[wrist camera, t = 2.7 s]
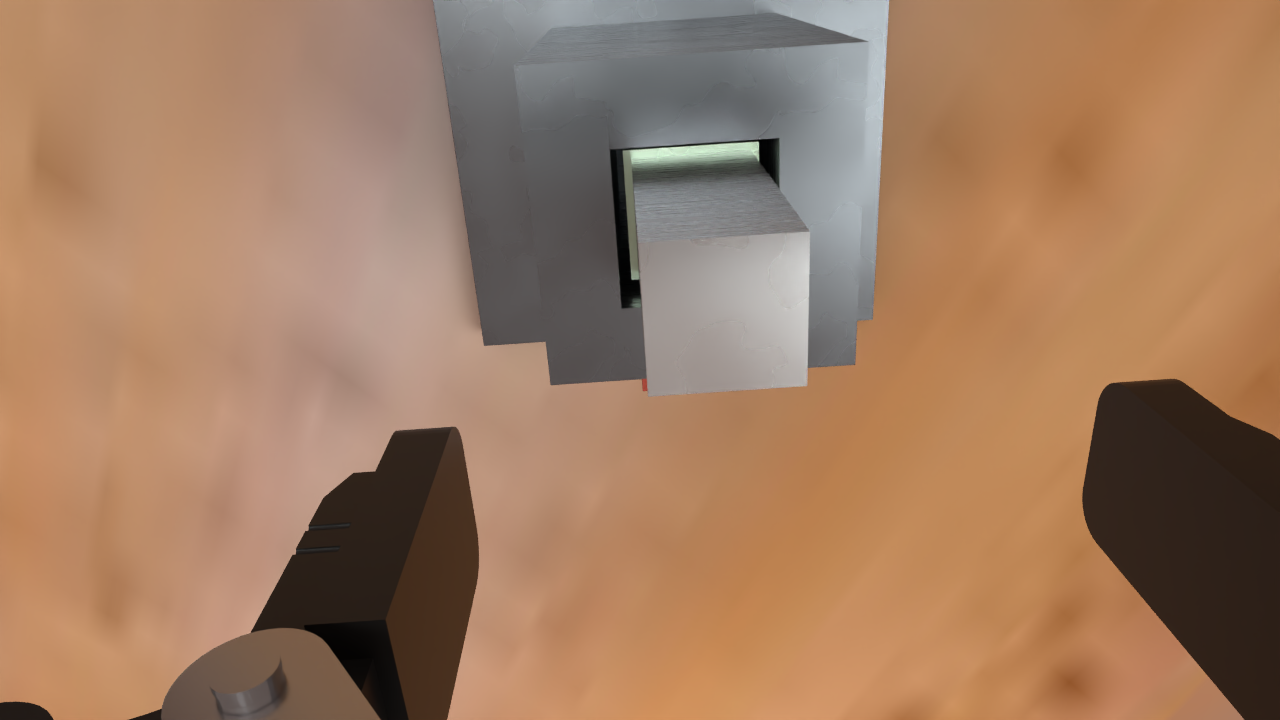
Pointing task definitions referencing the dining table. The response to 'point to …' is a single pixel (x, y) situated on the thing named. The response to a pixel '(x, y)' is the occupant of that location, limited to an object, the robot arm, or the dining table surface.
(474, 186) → the stand housing
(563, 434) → the dining table surface
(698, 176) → the column
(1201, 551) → the robot arm
